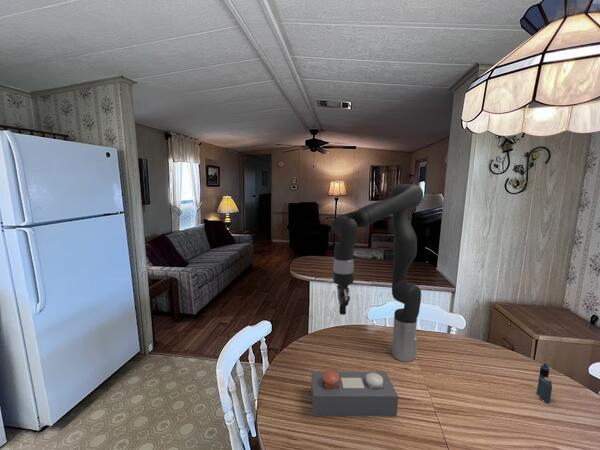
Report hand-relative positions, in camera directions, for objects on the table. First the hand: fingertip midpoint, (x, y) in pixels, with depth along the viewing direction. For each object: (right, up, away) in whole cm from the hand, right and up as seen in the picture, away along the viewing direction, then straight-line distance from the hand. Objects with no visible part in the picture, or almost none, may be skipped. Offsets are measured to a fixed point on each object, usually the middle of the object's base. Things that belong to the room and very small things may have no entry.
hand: (342, 313), depth 107 cm
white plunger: (+9, -26, -11) cm, 29 cm away
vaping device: (+71, -28, -7) cm, 77 cm away
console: (+1, -27, -11) cm, 29 cm away
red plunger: (-6, -24, -12) cm, 28 cm away
